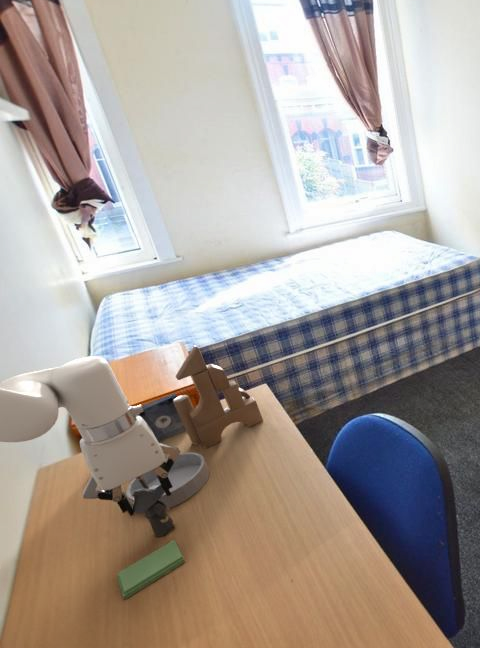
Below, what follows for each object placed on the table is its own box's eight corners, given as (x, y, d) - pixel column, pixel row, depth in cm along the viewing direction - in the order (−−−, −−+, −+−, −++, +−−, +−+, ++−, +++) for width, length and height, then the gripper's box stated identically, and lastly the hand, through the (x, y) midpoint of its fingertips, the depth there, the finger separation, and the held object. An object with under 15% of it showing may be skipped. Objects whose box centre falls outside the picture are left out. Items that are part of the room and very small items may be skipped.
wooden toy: (254, 411, 127) (223, 329, 117) (263, 420, 123) (231, 336, 113) (190, 441, 117) (150, 354, 107) (197, 452, 113) (156, 363, 103)
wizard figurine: (188, 523, 92) (162, 477, 87) (159, 546, 88) (130, 499, 83) (166, 511, 96) (139, 466, 91) (136, 532, 92) (107, 487, 87)
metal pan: (141, 524, 93) (133, 511, 92) (127, 491, 103) (120, 479, 101) (218, 482, 102) (212, 470, 101) (199, 455, 112) (194, 444, 110)
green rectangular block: (124, 599, 78) (121, 594, 78) (118, 579, 82) (115, 573, 82) (185, 562, 84) (182, 557, 83) (176, 544, 88) (174, 539, 87)
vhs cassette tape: (189, 423, 125) (175, 392, 121) (191, 428, 123) (177, 396, 119) (103, 460, 114) (85, 427, 110) (104, 465, 112) (85, 432, 108)
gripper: (160, 394, 90) (194, 467, 97) (42, 442, 79) (91, 520, 86) (169, 408, 85) (205, 484, 92) (45, 460, 74) (96, 542, 81)
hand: (149, 501), depth 89 cm, fingers closed on wizard figurine, 5 cm apart
